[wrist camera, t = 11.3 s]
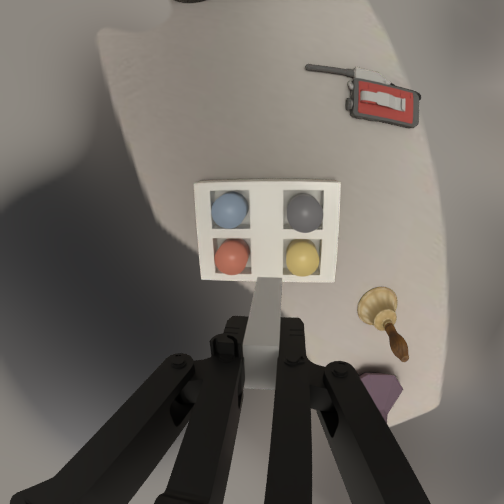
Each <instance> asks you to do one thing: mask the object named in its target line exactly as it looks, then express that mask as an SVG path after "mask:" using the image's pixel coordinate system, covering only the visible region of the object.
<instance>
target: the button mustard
mask: <svg viewBox="0 0 504 504" xmlns="http://www.w3.org/2000/svg"><path fill="white" fill-rule="evenodd" d="M286 264H287V267H288V269H289V271H290V272H291V273H292V274H294V275H296V276H300V277H305V276H309V275H311V274H312V273H314V272H315V271H316V269H317V268H318V265H319V256H318V253H317V250H316V247H315V245H314V243H313V242H312V241H310V240H309V239H295V240H293V241H292V242H290V244H289V245H288V247H287V250H286Z"/></svg>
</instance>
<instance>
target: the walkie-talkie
mask: <svg viewBox="0 0 504 504" xmlns="http://www.w3.org/2000/svg"><path fill="white" fill-rule="evenodd" d="M305 68H306V69H307V70H313V71H321V72H329V73H336V74H342V75H346V76H350V77H353V81H351V82H349V81H348V86H349V89H351V98H347V100H346V109H347V110H350V115H351V116H352V117H355V118H358V119H366V120H369V121H379V122H382V123H384V122H385V123H388V124H391V125H393V124H394V125H397V126H400V127H401V126H402V127H405V128H414V127H415V126H417V125H418V123H419V100H420V99H421V95H420V94H419V93H418V92H416V91H413V90H409V89H405V88H402V87H398V86H395V85H394V84H392V83H390V81H388V80H387V79H386V78H384V77H383V76H382V75H381V74H380V73H379V72H376V71H371V70H367V69H362V68H360V67H355V68H354V69H353V70H352V69H342V68H335V67H328V66H320V65H312V64H307V65H306V66H305Z"/></svg>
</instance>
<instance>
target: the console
mask: <svg viewBox="0 0 504 504" xmlns="http://www.w3.org/2000/svg"><path fill="white" fill-rule="evenodd" d="M340 186H341V183H340V182H338V181H336V180H315V179H235V180H207V181H199V182H196V183H194V197H195V212H196V225H197V238H198V249H199V260H200V270H201V279H202V280H228V281H257V277H277V278H282V282H335V271H336V260H337V247H338V232H339V213H340ZM227 192H238V193H240V194H242V195H243V196H244V197H245V198H246V200H247V202H248V212H247V215H246V216H245V218H244V219H243V221H242V223H241V224H240V225H238V226H237V227H235V228H231V229H226V228H223V227H220V226H219V225H217V224H216V223H215V221H214V220H213V218H212V214H211V209H212V205H213V203H214V202H215V200H216V199H218V198H219V197H220V196H222V195H223V194H225V193H227ZM300 193H307V194H310V195H312V196H313V197H315V198H316V200H317V201H318V202H319V204H320V205H321V207H322V210H323V220H322V223H321V225H320V226H319V227H318V228H317V229H316V230H314V231H312V232H309V233H301V232H298V231H296V230H294V229H293V228H292V227H291V226H290V224H289V222H288V220H287V204H288V202H289V200H290V199H291V198H292V197H293V196H295V195H297V194H300ZM228 238H240V239H242V240H244V241H245V242H246V243H247V245H248V247H249V250H250V254H249V258H248V261H247V264H246V266H245V268H244V270H243V271H242V272H241V273H239V274H237V275H227V274H224V273H222V272H221V271H220V270H219V269H218V268H217V266H216V264H215V260H214V258H215V254H216V252H217V250H218V249H219V247H220V246H221V244H222V243H223V242H224V241H225V240H226V239H228ZM295 239H309V240H310V241H312V242H313V243H314V245H315V247H316V250H317V253H318V256H319V265H318V268H317V269H316V271H315V272H314V273H312V274H311V275H309V276H305V277H300V276H296V275H294V274H292V273H291V272H290V271H289V269H288V267H287V264H286V250H287V247H288V245H289V244H290V242H292V241H293V240H295Z"/></svg>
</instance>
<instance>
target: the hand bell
mask: <svg viewBox="0 0 504 504" xmlns="http://www.w3.org/2000/svg"><path fill="white" fill-rule="evenodd" d="M396 308H397V297H396V294H395V293H394V292H393V291H392V290H391V289H389V288H386V287H377V288H374V289H372V290H370V291H368V292H367V293H365V294H364V295H363V297H362V298H361V300H360V302H359V304H358V309H357V311H358V315H359V318H360V319H361V320H362V321H363V322H364V323H366V324H370V325H374V326H375V328H376V329H378V330H381V331H384V330H385V331H386V332H387V334H388V336H389V340H390V347H391V350H392V352H393V353H394V355H395V356H396V357H397V358H399V359H400V360H401V361H402V362H406V361H408V359H409V355H408V346H407V343H406V341H405V340H404V338H403V337H402V336H401V335H399V334H398V333H397V331H396V329H395V327H394V324H395V322H396V318H397V316H396V313H395V310H396Z"/></svg>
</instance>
